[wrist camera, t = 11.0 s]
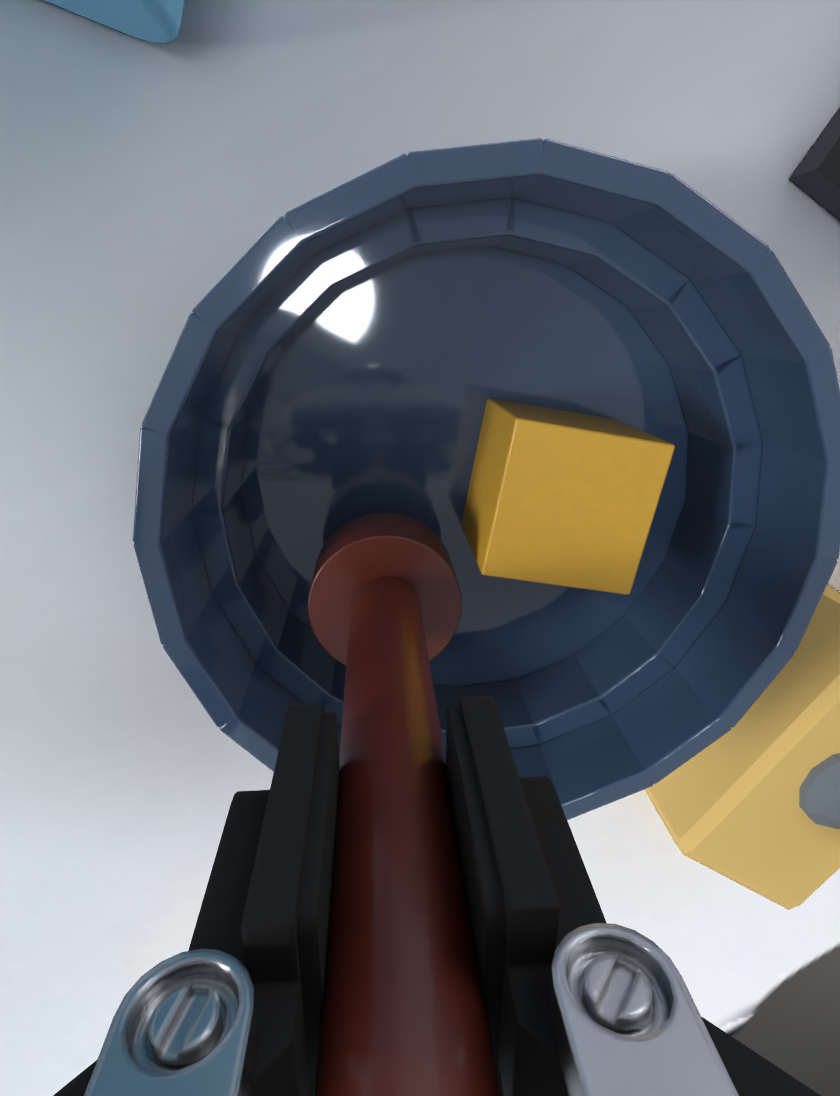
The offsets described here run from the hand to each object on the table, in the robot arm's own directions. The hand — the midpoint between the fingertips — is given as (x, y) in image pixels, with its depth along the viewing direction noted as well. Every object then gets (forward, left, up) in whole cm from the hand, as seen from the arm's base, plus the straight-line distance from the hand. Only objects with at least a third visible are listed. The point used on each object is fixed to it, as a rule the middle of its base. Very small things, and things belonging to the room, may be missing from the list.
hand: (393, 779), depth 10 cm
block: (+3, +5, -10) cm, 12 cm away
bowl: (+1, +3, -11) cm, 12 cm away
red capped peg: (0, 0, -9) cm, 9 cm away
